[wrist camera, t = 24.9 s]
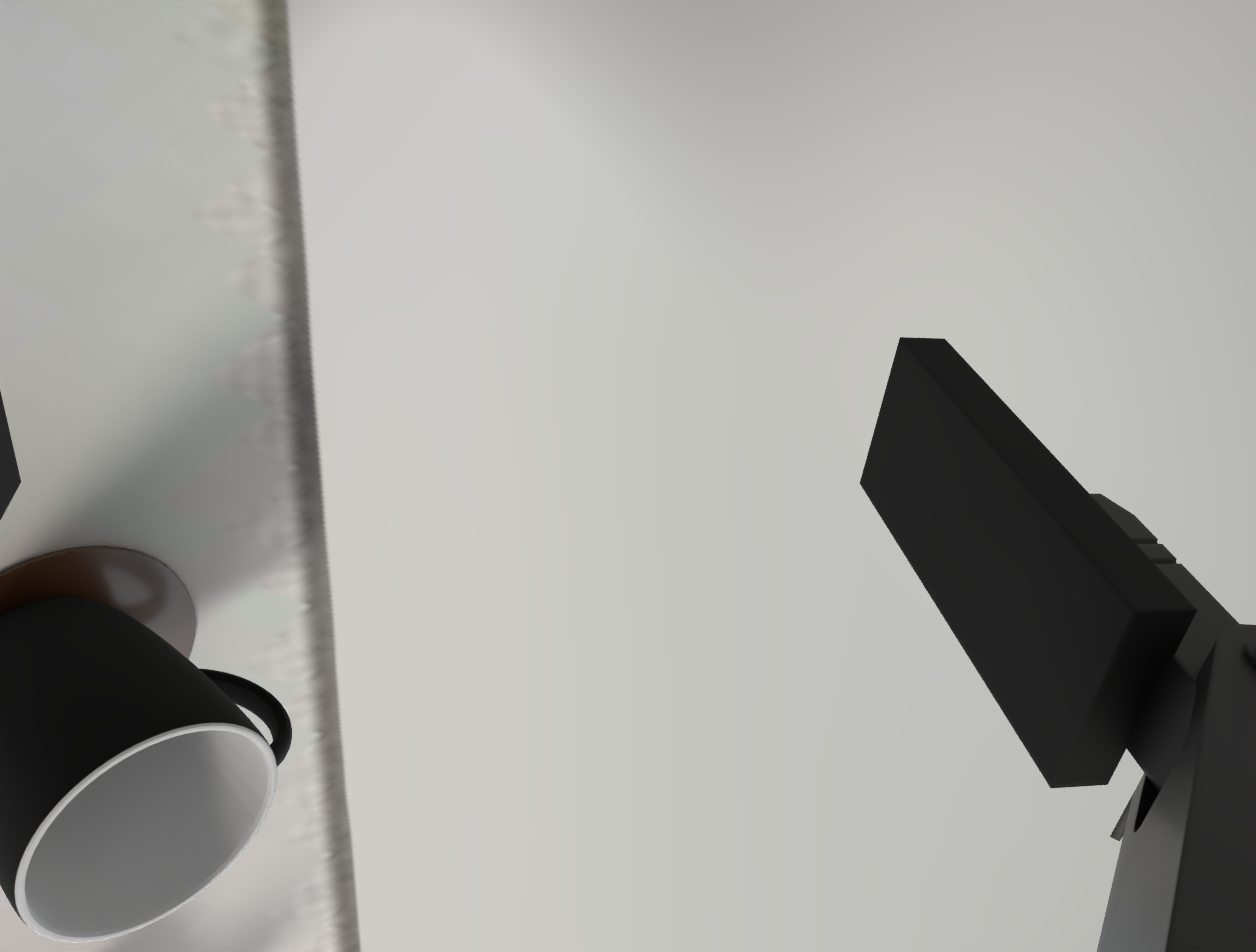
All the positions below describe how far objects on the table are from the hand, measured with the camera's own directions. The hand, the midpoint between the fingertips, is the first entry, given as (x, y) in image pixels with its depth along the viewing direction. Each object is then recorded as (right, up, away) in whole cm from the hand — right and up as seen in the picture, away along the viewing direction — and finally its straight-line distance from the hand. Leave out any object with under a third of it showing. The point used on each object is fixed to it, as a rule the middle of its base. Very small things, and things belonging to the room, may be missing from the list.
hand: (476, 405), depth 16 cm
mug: (-20, -8, +27) cm, 34 cm away
